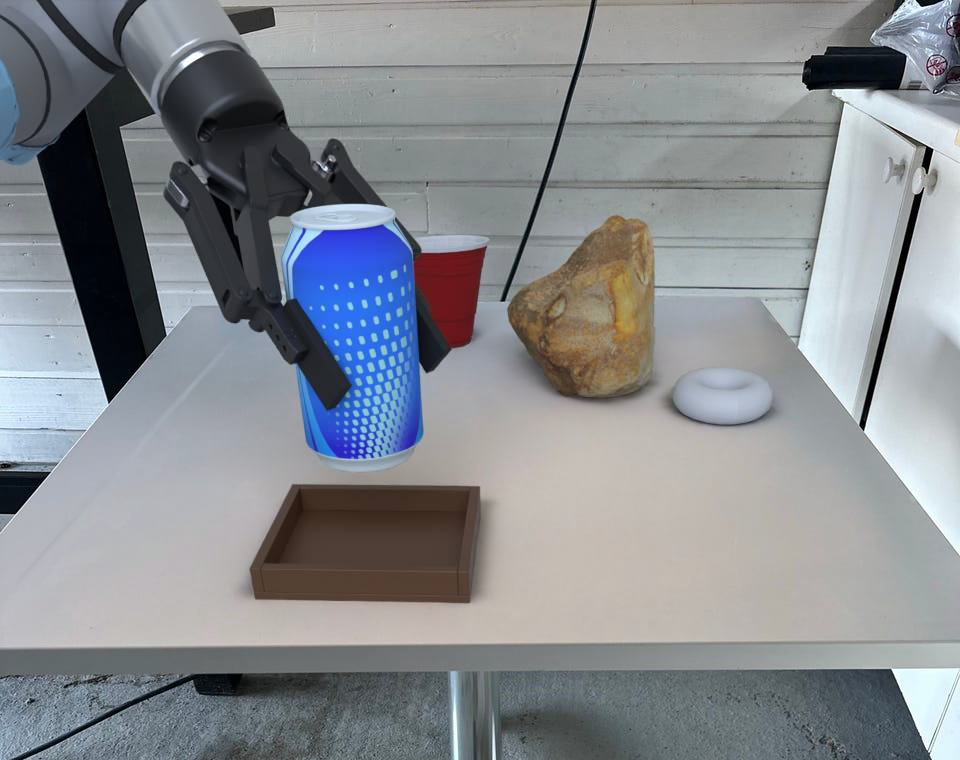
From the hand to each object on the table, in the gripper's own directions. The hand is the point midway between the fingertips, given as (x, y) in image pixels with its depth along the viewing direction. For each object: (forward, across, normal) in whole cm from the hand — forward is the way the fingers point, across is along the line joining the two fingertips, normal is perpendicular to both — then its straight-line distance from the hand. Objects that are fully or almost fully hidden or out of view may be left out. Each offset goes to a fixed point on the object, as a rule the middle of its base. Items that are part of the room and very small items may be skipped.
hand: (391, 378), depth 61 cm
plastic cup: (-15, -42, -36) cm, 57 cm away
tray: (+8, 0, -13) cm, 15 cm away
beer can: (+2, 0, -7) cm, 7 cm away
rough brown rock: (-1, -43, -22) cm, 49 cm away
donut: (+12, -43, -9) cm, 45 cm away
